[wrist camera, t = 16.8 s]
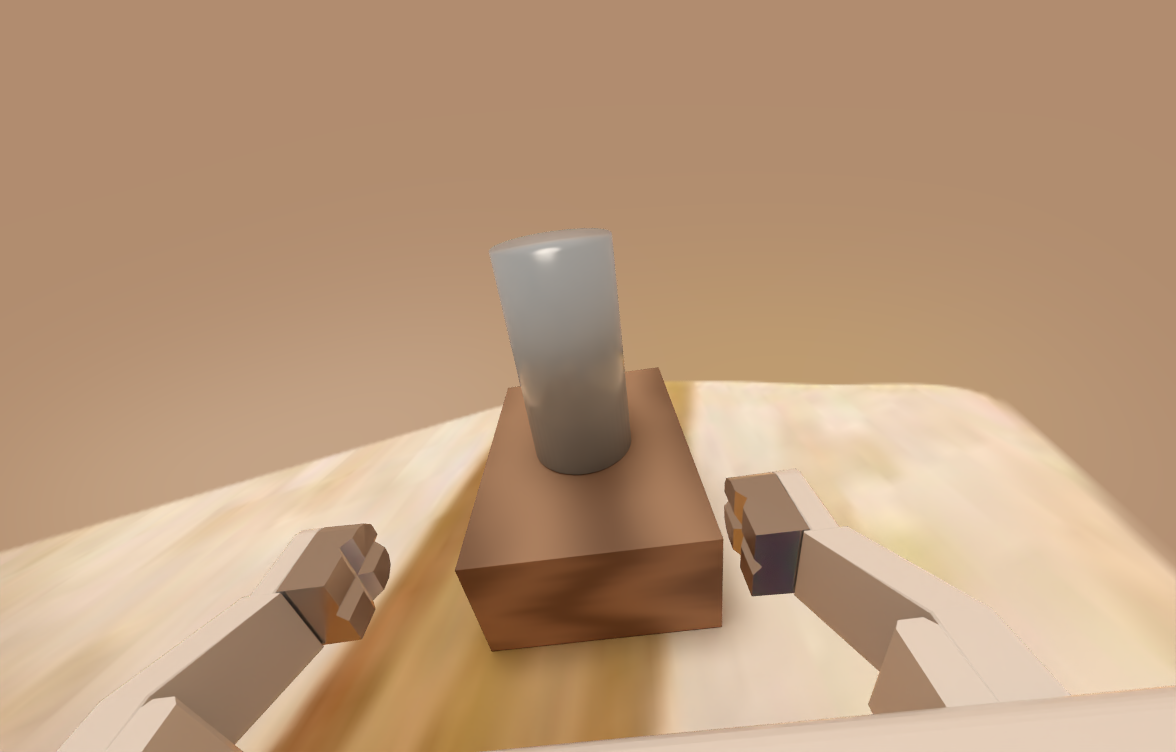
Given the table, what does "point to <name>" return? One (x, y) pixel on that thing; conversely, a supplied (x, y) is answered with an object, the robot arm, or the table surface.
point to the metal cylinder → (567, 345)
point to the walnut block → (593, 535)
